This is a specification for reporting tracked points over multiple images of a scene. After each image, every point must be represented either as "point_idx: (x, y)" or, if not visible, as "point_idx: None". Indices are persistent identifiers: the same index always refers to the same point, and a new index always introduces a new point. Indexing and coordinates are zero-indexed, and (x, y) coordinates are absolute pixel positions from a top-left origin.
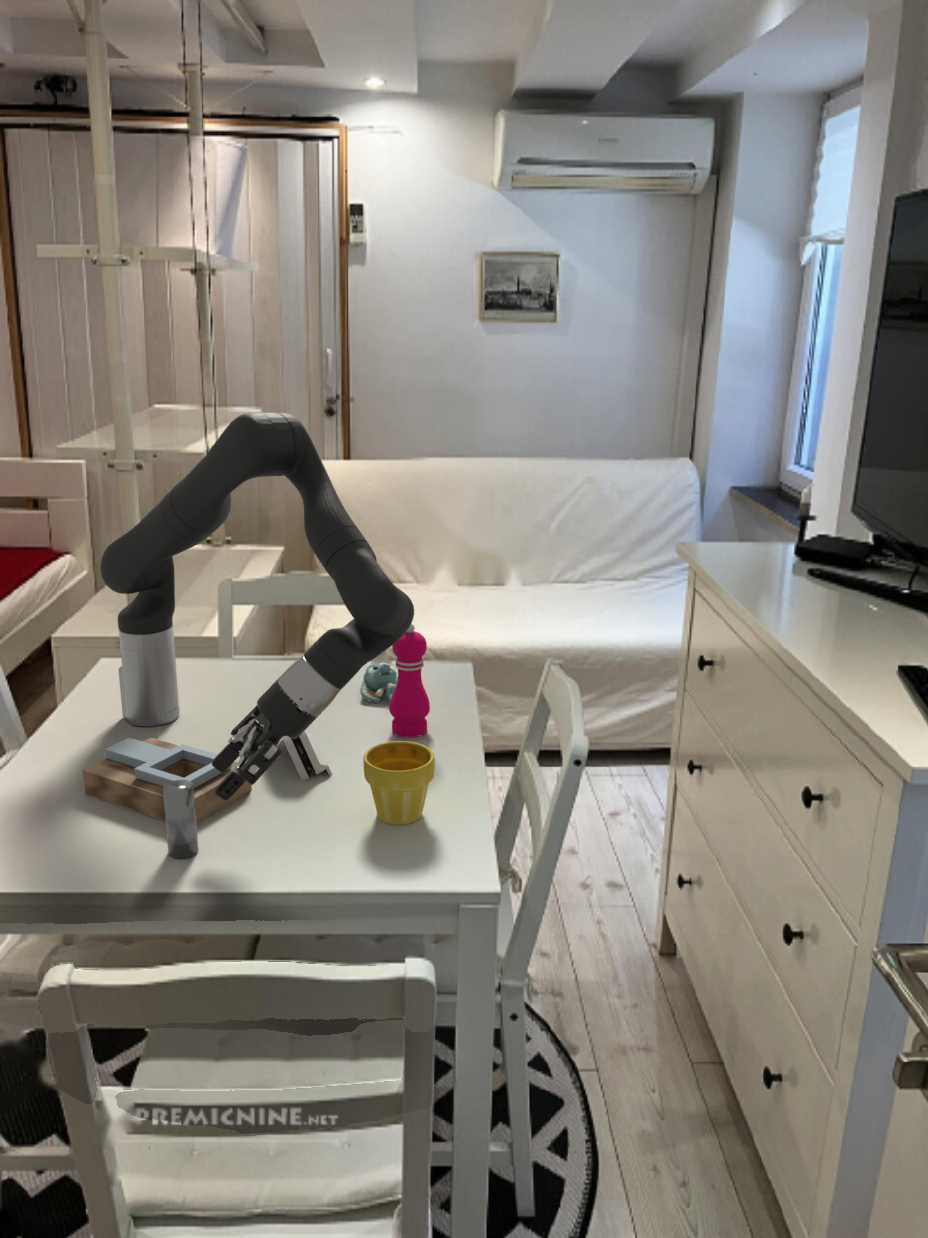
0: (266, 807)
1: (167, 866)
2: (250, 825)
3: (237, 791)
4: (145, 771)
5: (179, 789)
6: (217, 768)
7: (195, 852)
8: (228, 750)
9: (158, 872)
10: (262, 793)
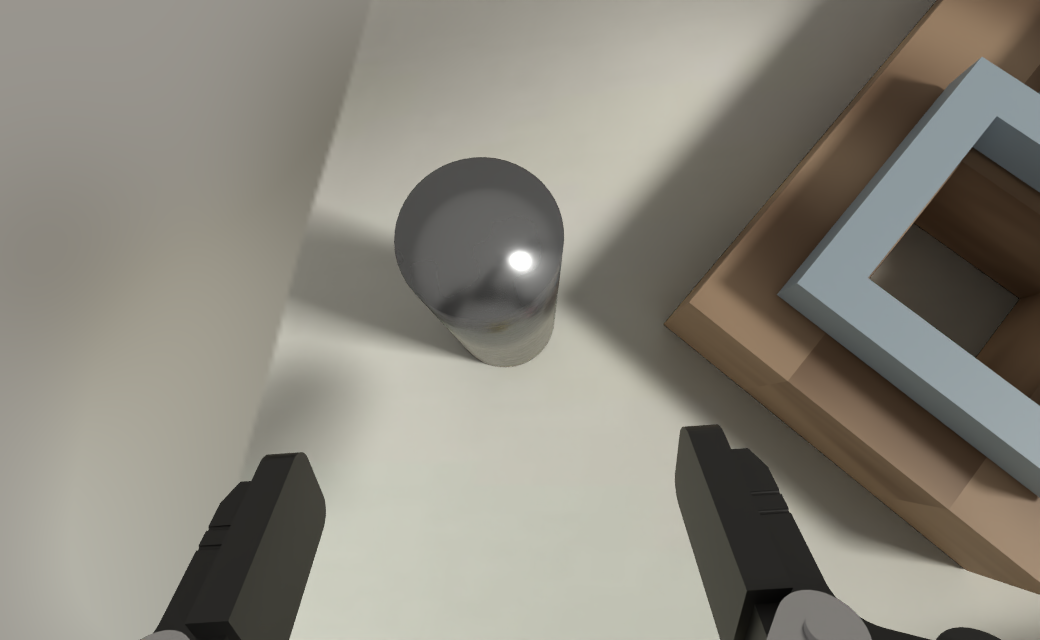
0: None
1: None
2: (658, 556)
3: (912, 513)
4: (947, 104)
5: (438, 244)
6: (678, 459)
7: (477, 358)
8: (731, 572)
9: None
10: (931, 616)
